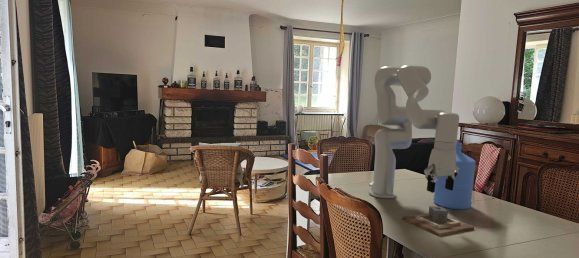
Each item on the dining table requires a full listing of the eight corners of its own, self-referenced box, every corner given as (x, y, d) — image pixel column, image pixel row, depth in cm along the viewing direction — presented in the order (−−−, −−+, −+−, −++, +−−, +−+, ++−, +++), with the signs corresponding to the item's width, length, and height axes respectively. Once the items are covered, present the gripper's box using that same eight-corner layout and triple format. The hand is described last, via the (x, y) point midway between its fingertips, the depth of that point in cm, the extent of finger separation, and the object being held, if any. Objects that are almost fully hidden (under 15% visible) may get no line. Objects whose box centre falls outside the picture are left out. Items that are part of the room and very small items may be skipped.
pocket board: (402, 218, 149) (402, 213, 149) (435, 213, 157) (435, 209, 157) (439, 236, 133) (440, 230, 133) (474, 229, 142) (474, 224, 141)
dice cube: (440, 219, 148) (442, 206, 147) (446, 223, 143) (448, 211, 142) (428, 218, 148) (429, 206, 147) (433, 223, 143) (434, 210, 142)
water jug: (475, 212, 163) (482, 146, 159) (436, 207, 166) (442, 143, 162) (466, 201, 178) (472, 141, 175) (430, 197, 181) (436, 139, 178)
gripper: (452, 143, 149) (447, 186, 152) (420, 144, 141) (415, 189, 144) (469, 147, 143) (463, 191, 145) (436, 148, 135) (431, 195, 137)
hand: (439, 190), depth 144 cm, fingers open, 9 cm apart
